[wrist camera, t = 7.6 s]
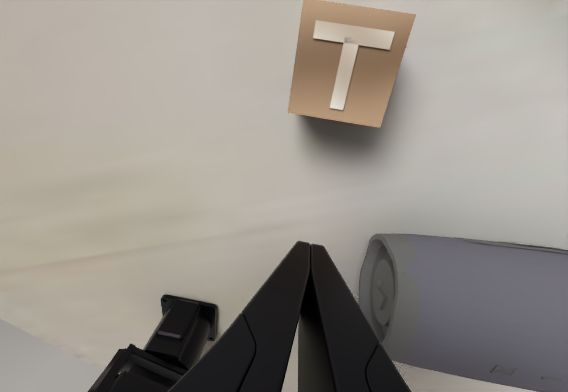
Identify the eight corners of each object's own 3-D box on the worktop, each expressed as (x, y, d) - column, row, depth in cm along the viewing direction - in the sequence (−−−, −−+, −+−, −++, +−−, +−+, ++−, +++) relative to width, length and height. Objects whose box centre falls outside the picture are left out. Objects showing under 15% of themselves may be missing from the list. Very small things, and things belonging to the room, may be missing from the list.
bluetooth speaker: (351, 280, 25) (369, 396, 17) (374, 199, 21) (415, 298, 12) (594, 316, 24) (755, 464, 15) (675, 237, 19) (968, 381, 11)
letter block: (364, 111, 18) (380, 128, 13) (295, 100, 18) (287, 113, 14) (388, 27, 16) (416, 13, 11) (307, 15, 16) (303, -3, 11)
